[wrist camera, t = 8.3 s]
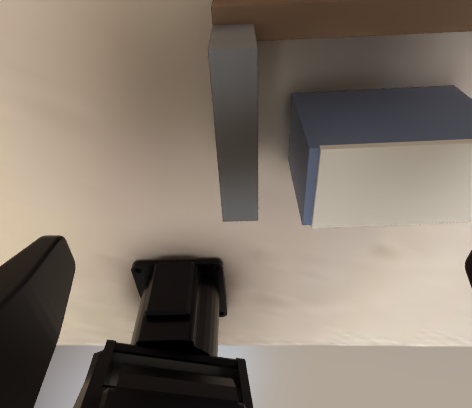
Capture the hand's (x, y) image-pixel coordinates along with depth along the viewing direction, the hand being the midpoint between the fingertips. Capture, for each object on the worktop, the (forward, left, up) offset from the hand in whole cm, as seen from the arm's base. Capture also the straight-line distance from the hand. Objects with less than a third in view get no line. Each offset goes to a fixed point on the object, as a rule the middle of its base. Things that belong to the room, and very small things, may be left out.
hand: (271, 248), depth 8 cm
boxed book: (-3, -6, -12) cm, 14 cm away
